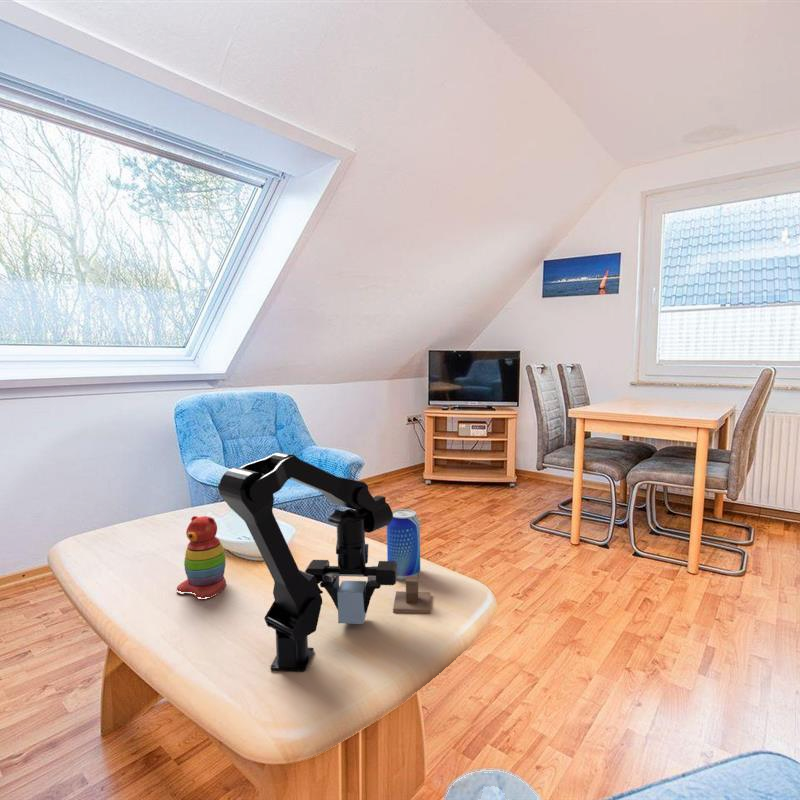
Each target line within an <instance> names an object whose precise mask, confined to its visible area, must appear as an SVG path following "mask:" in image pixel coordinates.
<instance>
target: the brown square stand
mask: <svg viewBox="0 0 800 800" xmlns="http://www.w3.org/2000/svg"><path fill="white" fill-rule="evenodd" d="M392 613H397V614H398V613H403V614H404V613H405V614H406V613H407V614H409V613H410V614H430V613H431V591H419V575H417V576H407V577H406V580H405V590H404V591H399V590H397V591H395V596H394V603H393V609H392Z"/></svg>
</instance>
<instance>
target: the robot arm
mask: <svg viewBox="0 0 800 800" xmlns="http://www.w3.org/2000/svg"><path fill="white" fill-rule="evenodd" d="M288 480H292V481H294V482H296V483H299V484H301V485H304V486H306V487H308V488H311V489H313V490H316V491H319V492H320V493H322V494H323V495H324V497H325V498H326V499H327V500H328V501H329V502H331V503H333V505H337V506H341V507H344V508H347V509H345V510H339V509H335V510H334V511H333V513H332V514H331V515H330V516H329V517H328V520H327V521H328V522H329V523H333V524H335V525H336V547H335V554H336V555H337V566H336V565H330V561H329V559H312V560H311V561H310V562H309V564H308V565H307V567H306V569H305V570H304V571H303V570H300V568H299V567H298V565H297V563H296V561H295V557H294V556H293V553H292V552H291V550H290V547H289V546H288V543H287V541H286V538H285V537H284V535H283V532H282V530H281V528H280V526H279V523H278V521H277V519H276V516H275V515H274V513H273V507H274V502H275V496H274V495H275V494H276V493H277V492H279V491H280V490H282V488H283V487H284V486H285V484H286V483H287V482H288ZM217 486H218V488H217V489H218V492H219V496H220V497H221V498H222V499H223V500H224V502H225V503H226V504H227V506H228V507H229V508H230V509H231V510H232V511H233V512H234V513H235V514H236V515H238V516H239V517H240V519H242V520H243V521H244V523H245V525H246V527H247V529H248V531H249V533H250V535H251V537H252V538H253V540H254V543H255V545H256V546H257V548H258V551H259V553H260V555H261V557H262V559H263V562H264V563H265V565H266V567H267V569H268V571H269V573H270V576H271V577H272V580H273V581H274V582H273V583H274V585H273V590H272V594H273V599H274V601H273V603H272V604H271V606H270V607H269V609H268V611H267V612H266V614H265V616H264V619H263V620H264V621H265V624H266V626H267V627H268V628H272V629H273V630H275V644H276V645H275V647H276V655H275V657H274V658H273V661H272V663H271V665H270V666H269V667H270V670H271V671H287V672H305V671H306V670H307V669H308V668H307V667H308V666H309V663H310V660H311V658H312V656H313V654H314V651H315V650H314V649H315V648H314V647H309V646H308V645H309V644H308V643H309V641H308V638H309V637H308V636H310V635H311V634H313V633H315V632H316V631H317V629H318V628H317V626H318V623H319V618H320V615H321V610H322V605H323V597H322V595H321V594H323V593H324V592H323V590H321V588H324V589H325V590H326V592H327V594H328V595H329V596H330V598H331V600H332V602H333V603H334V606H335V607H336V609H337V611H338V594H337V592H338V590H339V588H340V577H362V578H363V577H366V578H367V581H366V582H367V584H366V589H365V603H364V609H365V612H367V613H368V608H369V606H370V602H371V599H372V597H373V594H374V592H375V590H376V589H377V590H378V589H381V587H382V586H394V585H396V584H397V580H398V579H397V574H398V565H397V563H396V562H395V561H387V560H379V561H378V563H377V565H376V566H375V565H372V566H367V565H366V564H368V561H369V544H368V543H366V540H365V539H366V534H365V533H368V534H369V533H372V532H375V531H377V530H379V529H382V528H384V527H387V525H389V524H390V523H391V522H392V519H393V512H392V511H393V510H392V509H391V506H390V505H389V503H387V502H386V497H385V496H383V495H376V496H374V497H373V495H372V494H371V493H370V491H369V485H368V484H367V483H366V482H365V481H362V480H361V481H360V480H356V479H351V478H348V477H347V478H346V477H341V476H338V475H335V474H332V473H331V472H328V471H326V470H324V469H322V468H320V467H317V466H315V465H313V464H311V463H309V462H307V461H304V460H303V459H300V458H298V456H296V455H295V454H291V453H287V452H280V451H278V452H275V453H273V454H271V455H269V456H267V457H265V458H261V459H259V460H255V461H253V462H252V461H251V462H249V463H246V464H244V465H242V466H240V467H232V468H230V469H228V470H226V471H225V472H224V473H223V475H222V477H221V478H220V481H219V484H218V485H217Z"/></svg>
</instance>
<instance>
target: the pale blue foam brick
mask: <svg viewBox="0 0 800 800" xmlns="http://www.w3.org/2000/svg"><path fill="white" fill-rule="evenodd" d="M366 584H367V581H366V580H342V581H341V583H340V584H339V587H340V588H339V590H338V592H337V594H338V610H337V620H338V621H337V622H338V623H337V624H353V625H354V624H355V625H356V624H357V625H358V624H359V625H362V624H363V625H364V624H365V620H366V617H367V613H368V611H367V612H365V609H364V603H365V589H366Z"/></svg>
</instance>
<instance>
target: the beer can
mask: <svg viewBox="0 0 800 800" xmlns="http://www.w3.org/2000/svg"><path fill="white" fill-rule="evenodd" d="M392 512H393V519H392V522H391V523H390V524H389V525H387V526H386V550H387V551H386V553H387V554H386V556H387V557H386V558H387V559H386V561H395V562H396V563H397V565H398V574H397V579H396V580H399V581H406V577H407V576H418V574H419V573H420V571H421V523H420V519H419V517H418V516H417V513H416V511H414V510H412V509H408V508H407V509H406V508H405V509H403V508H399V509H395V510H392Z"/></svg>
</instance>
